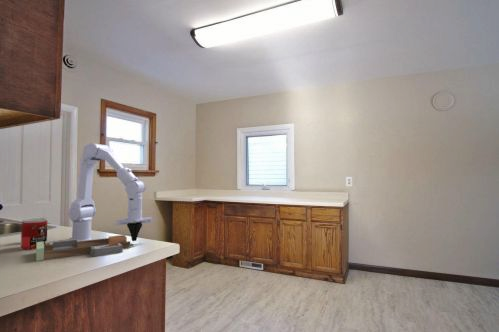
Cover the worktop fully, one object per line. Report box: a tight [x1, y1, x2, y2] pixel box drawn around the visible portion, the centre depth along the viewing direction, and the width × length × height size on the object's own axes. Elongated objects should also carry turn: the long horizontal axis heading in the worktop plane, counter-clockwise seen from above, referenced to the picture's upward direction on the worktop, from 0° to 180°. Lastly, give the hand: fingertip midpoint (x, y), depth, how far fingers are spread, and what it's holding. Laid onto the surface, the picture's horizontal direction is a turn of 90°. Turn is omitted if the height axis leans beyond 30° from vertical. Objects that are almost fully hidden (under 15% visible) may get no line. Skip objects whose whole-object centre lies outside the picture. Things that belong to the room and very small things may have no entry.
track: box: [43, 237, 131, 261], centre depth 107 cm, size 12×28×2 cm, turn 128°
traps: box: [48, 239, 124, 257], centre depth 107 cm, size 22×22×2 cm
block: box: [107, 234, 128, 247], centre depth 114 cm, size 6×6×4 cm
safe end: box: [35, 241, 45, 262], centre depth 98 cm, size 12×2×4 cm, turn 38°
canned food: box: [20, 217, 47, 251], centre depth 110 cm, size 8×8×11 cm
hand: (134, 240), depth 118 cm, fingers closed
